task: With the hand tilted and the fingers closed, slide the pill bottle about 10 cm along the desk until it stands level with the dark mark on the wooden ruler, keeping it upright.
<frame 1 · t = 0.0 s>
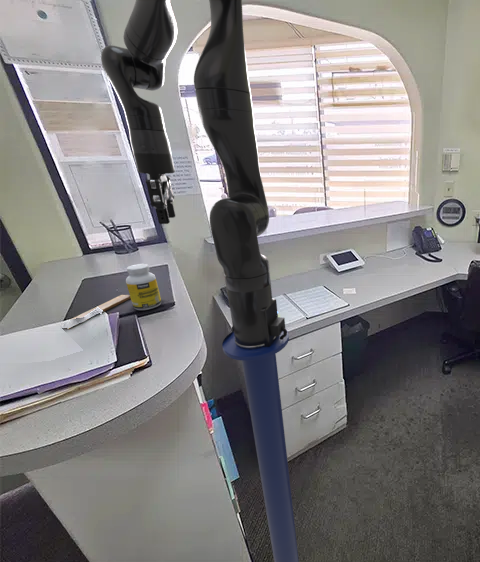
hand: (167, 220, 79), 24 cm above the table, tool pointing down, fingers open, 8 cm apart
pill bottle: (148, 306, 86), on the table
ruler: (98, 311, 82), on the table
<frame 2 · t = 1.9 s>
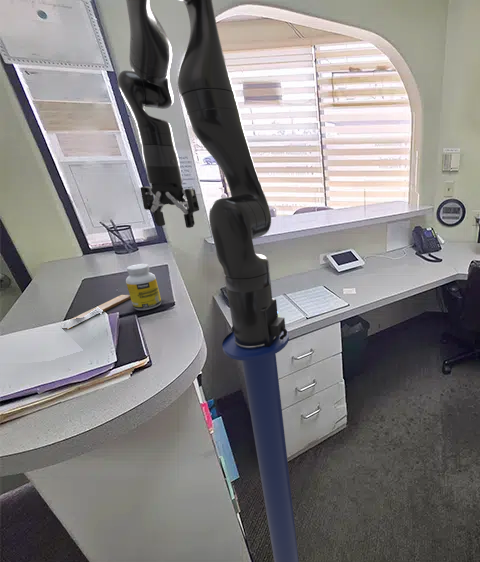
hand: (175, 226, 86), 21 cm above the table, tool pointing down, fingers open, 8 cm apart
nothing on the table moved.
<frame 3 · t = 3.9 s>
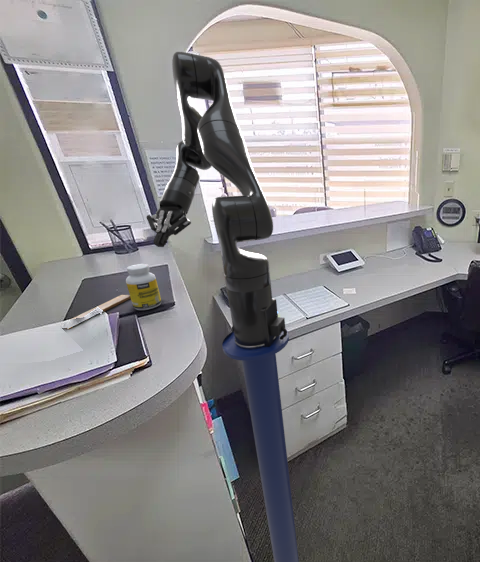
hand: (158, 245, 88), 15 cm above the table, tool tilted 45°, fingers closed
nothing on the table moved.
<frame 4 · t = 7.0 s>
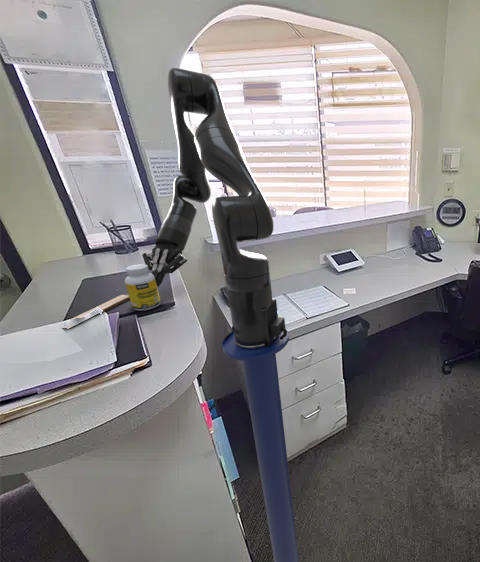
hand: (153, 285, 87), 5 cm above the table, tool tilted 45°, fingers closed
pill bottle: (147, 306, 86), on the table, touching gripper
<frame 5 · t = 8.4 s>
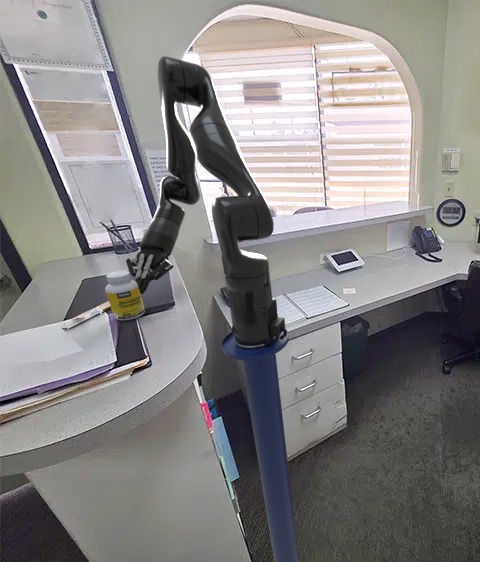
hand: (137, 293, 82), 5 cm above the table, tool tilted 45°, fingers closed
pill bottle: (130, 316, 81), on the table, touching gripper
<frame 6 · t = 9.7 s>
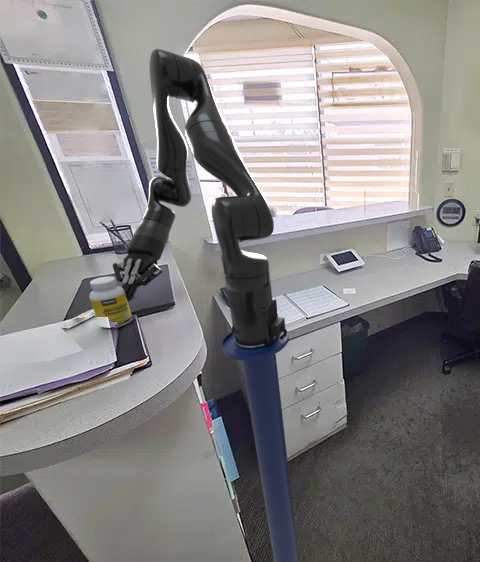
hand: (124, 299, 78), 5 cm above the table, tool tilted 45°, fingers closed
pill bottle: (117, 323, 77), on the table, touching gripper
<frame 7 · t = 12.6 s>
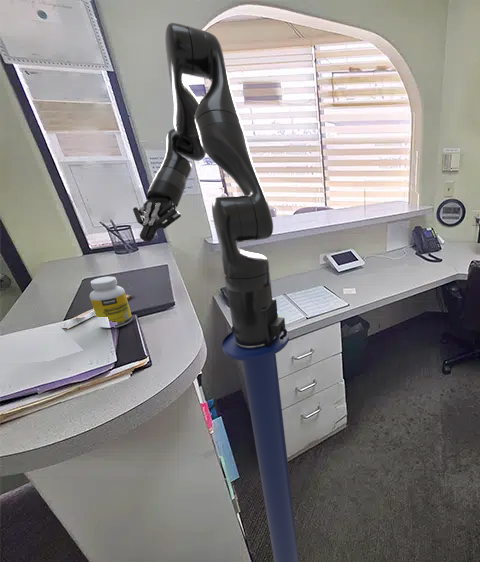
hand: (145, 239, 81), 18 cm above the table, tool tilted 45°, fingers closed
pill bottle: (117, 323, 77), on the table
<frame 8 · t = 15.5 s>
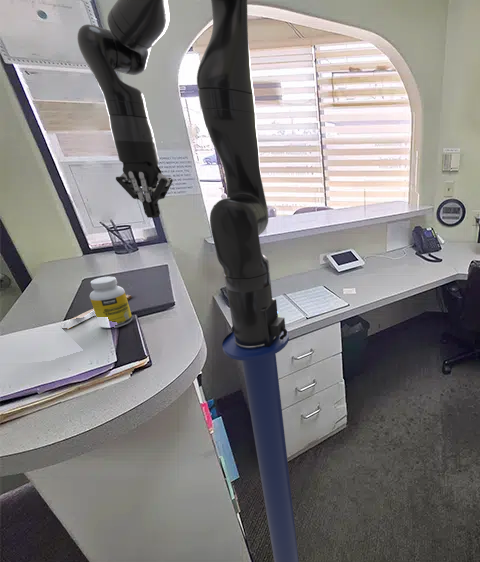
hand: (153, 217, 76), 25 cm above the table, tool pointing down, fingers closed
nothing on the table moved.
at the end: pill bottle inside the target area (0.4 cm from its centre), on the table; pill bottle moved 9.7 cm from its start; pill bottle tilted 0° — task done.
